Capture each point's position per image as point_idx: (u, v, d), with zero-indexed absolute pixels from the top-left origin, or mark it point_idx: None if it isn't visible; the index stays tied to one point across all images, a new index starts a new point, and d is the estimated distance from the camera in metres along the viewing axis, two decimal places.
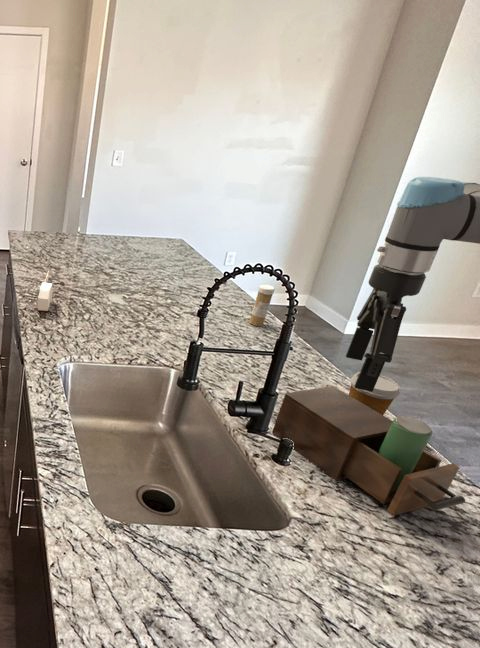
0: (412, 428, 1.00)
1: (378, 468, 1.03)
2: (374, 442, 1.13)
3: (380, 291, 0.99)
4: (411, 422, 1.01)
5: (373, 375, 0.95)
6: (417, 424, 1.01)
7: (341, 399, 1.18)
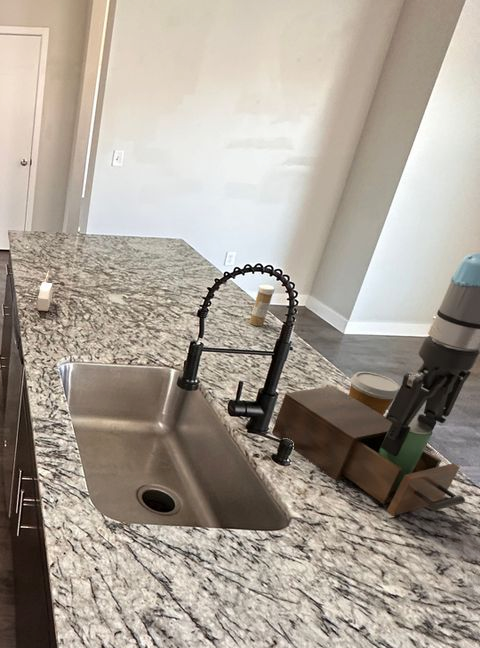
0: (412, 428, 1.00)
1: (378, 468, 1.03)
2: (374, 442, 1.13)
3: None
4: (411, 422, 1.01)
5: (391, 437, 1.00)
6: (418, 424, 1.01)
7: (341, 399, 1.18)
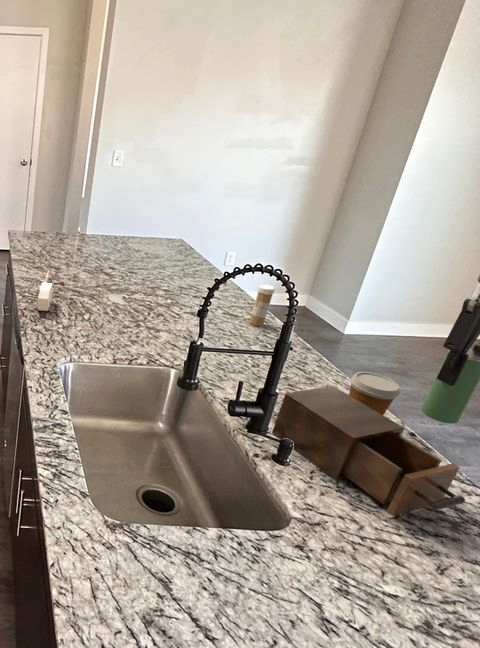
0: (470, 356, 1.00)
1: (378, 468, 1.03)
2: (374, 442, 1.13)
3: None
4: (467, 352, 1.02)
5: (449, 366, 1.01)
6: (474, 353, 1.02)
7: (341, 399, 1.18)
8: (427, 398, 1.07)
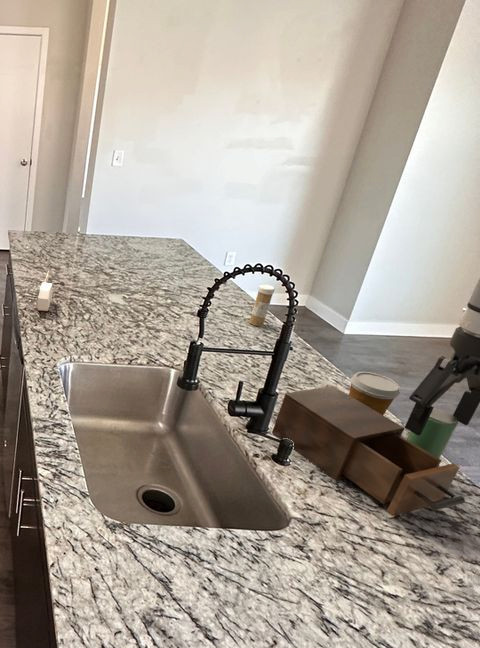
0: (439, 418, 1.07)
1: (378, 468, 1.03)
2: (374, 442, 1.13)
3: None
4: (437, 413, 1.09)
5: (415, 417, 1.05)
6: (444, 414, 1.08)
7: (341, 399, 1.18)
8: None
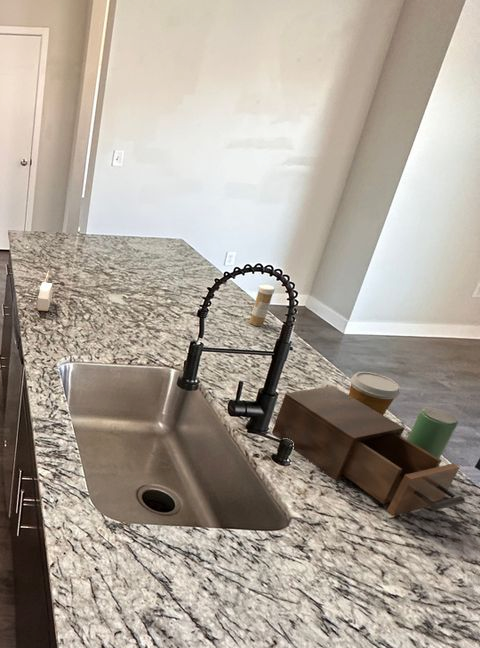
0: (439, 418, 1.07)
1: (378, 468, 1.03)
2: (374, 442, 1.13)
3: None
4: (437, 413, 1.09)
5: None
6: (444, 414, 1.08)
7: (341, 399, 1.18)
8: None
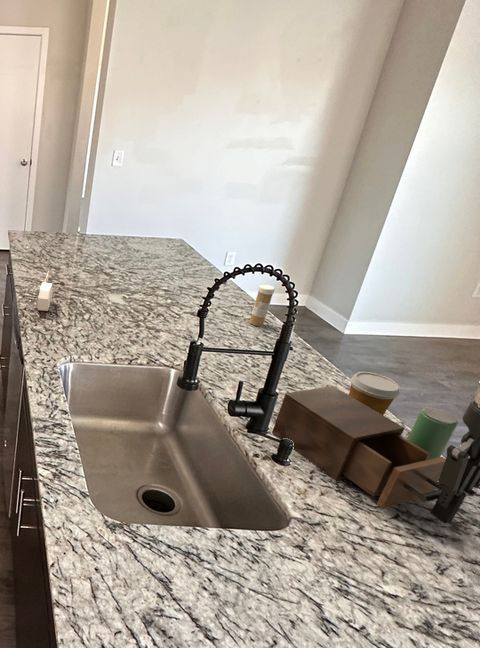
0: (439, 418, 1.07)
1: (368, 461, 1.04)
2: None
3: None
4: (437, 413, 1.09)
5: (443, 505, 0.96)
6: (444, 414, 1.08)
7: (341, 399, 1.18)
8: None
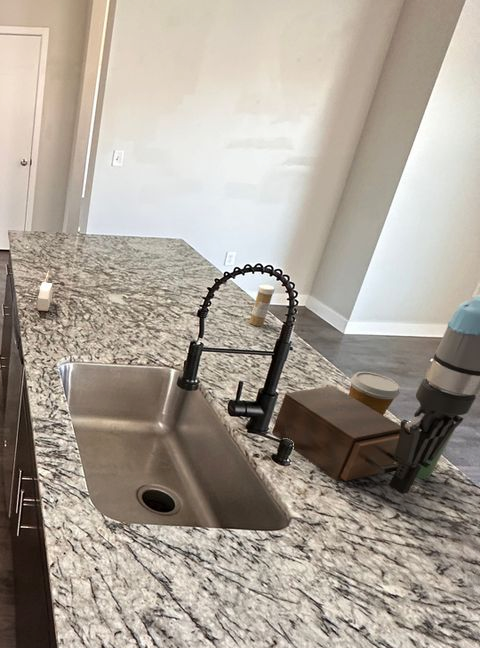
0: None
1: None
2: None
3: None
4: None
5: (399, 476, 1.03)
6: None
7: (341, 399, 1.18)
8: None
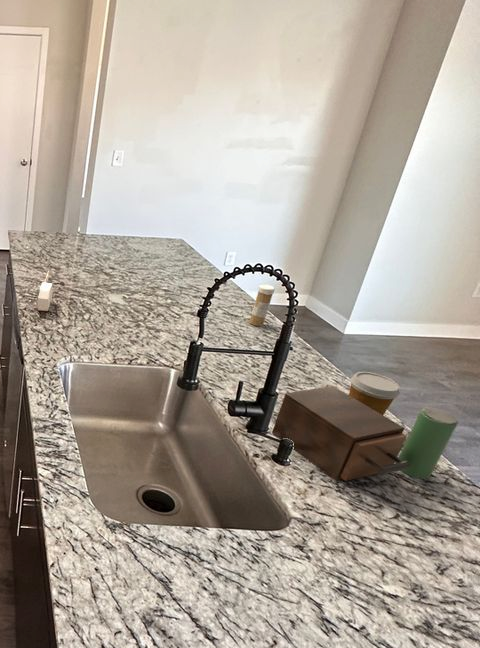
0: (439, 418, 1.07)
1: None
2: None
3: None
4: (437, 413, 1.09)
5: None
6: (444, 414, 1.08)
7: (341, 399, 1.18)
8: (401, 453, 1.14)
